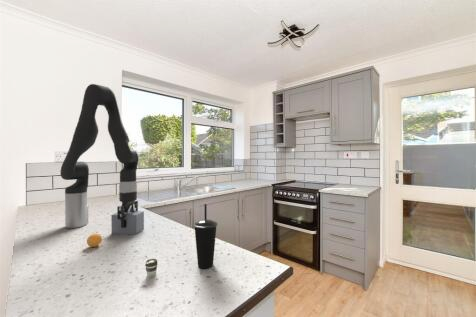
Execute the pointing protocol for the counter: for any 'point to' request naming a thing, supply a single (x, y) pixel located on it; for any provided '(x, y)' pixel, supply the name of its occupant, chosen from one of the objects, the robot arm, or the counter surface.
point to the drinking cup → (205, 241)
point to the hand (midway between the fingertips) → (128, 225)
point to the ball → (94, 240)
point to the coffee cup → (151, 267)
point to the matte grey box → (128, 223)
